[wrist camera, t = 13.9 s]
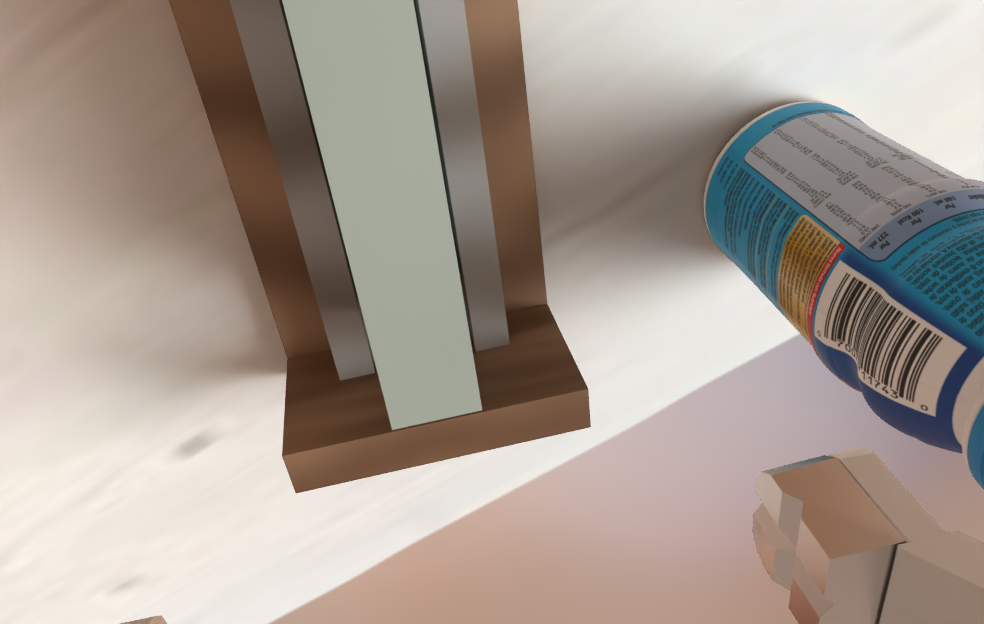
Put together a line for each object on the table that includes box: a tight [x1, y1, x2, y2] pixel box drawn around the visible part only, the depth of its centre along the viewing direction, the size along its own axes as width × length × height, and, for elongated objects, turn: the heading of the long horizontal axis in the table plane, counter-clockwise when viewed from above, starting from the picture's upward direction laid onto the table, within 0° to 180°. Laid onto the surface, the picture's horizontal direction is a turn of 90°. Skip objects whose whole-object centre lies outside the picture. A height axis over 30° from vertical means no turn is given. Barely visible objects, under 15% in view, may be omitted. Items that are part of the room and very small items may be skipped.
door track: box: [169, 0, 591, 493], centre depth 27 cm, size 26×12×8 cm, turn 7°
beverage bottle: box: [703, 101, 984, 489], centre depth 28 cm, size 8×8×20 cm
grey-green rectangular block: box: [282, 0, 482, 430], centre depth 25 cm, size 16×3×10 cm, turn 7°
